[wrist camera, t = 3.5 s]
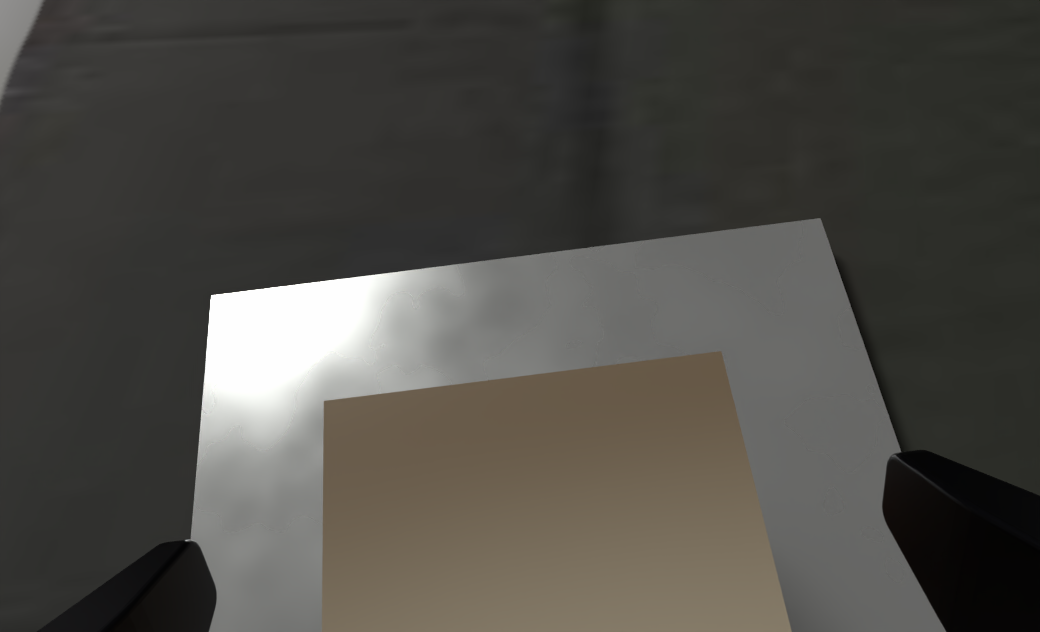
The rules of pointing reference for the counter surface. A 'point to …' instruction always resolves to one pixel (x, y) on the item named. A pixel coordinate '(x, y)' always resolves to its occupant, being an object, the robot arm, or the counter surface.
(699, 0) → the counter surface
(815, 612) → the stand
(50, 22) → the counter surface
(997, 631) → the robot arm
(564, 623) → the post
